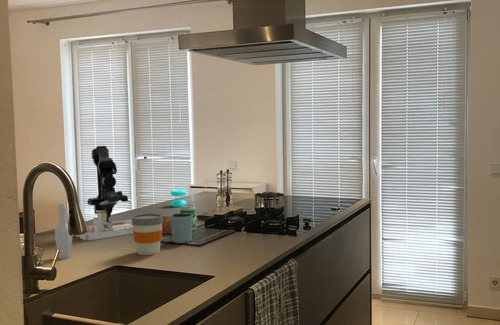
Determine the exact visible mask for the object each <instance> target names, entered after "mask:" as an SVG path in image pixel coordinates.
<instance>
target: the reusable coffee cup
mask: <svg viewBox="0 0 500 325" xmlns="http://www.w3.org/2000/svg"><path fill="white" fill-rule="evenodd" d="M162 216H163V215H162V214H160V213H141V214H136V215H135V214H134V215H133V216H132V217H131V220H132V225H133V229H134V230H133V234H132V235H133V240H134V242H135V245H136V253H137V255H140V256H151V255H157V254H159V253H160V252H161V241H162V237H163V233H162V223H163V220H162Z"/></svg>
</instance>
